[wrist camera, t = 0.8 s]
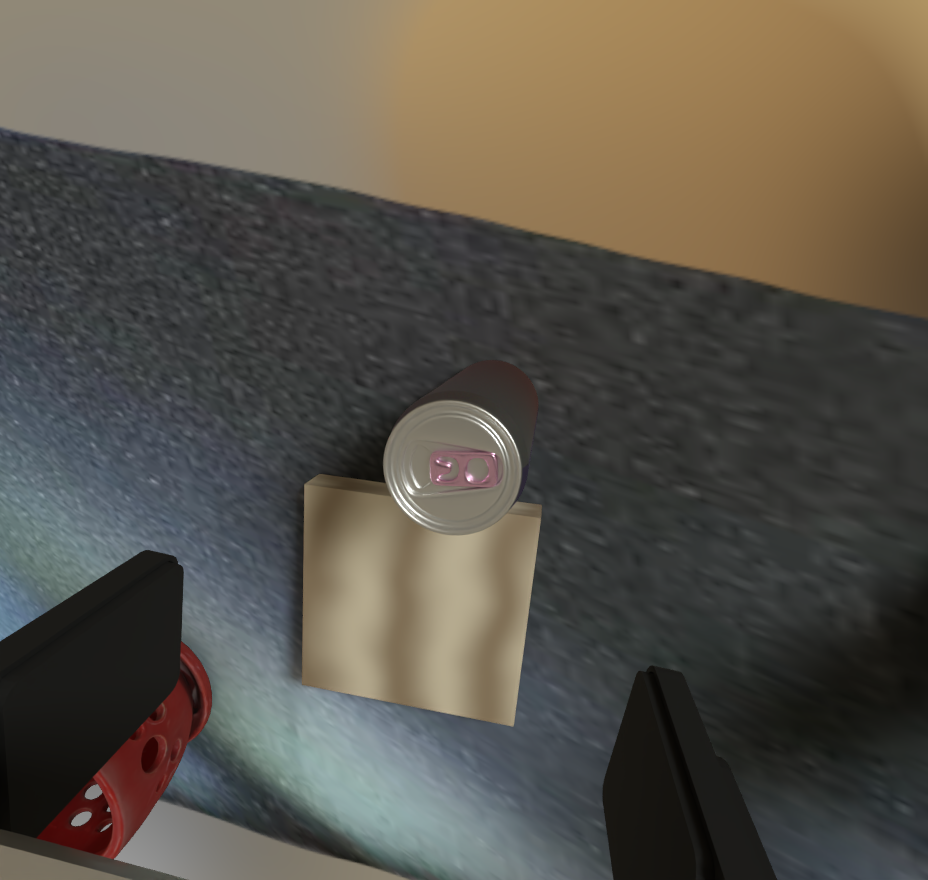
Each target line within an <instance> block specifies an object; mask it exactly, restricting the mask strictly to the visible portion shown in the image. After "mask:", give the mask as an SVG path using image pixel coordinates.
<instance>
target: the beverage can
mask: <svg viewBox="0 0 928 880" xmlns="http://www.w3.org/2000/svg"><path fill="white" fill-rule="evenodd" d="M537 416H538V397H537V393H536V390H535V388H534V386H533V384H532V382H531V381H530V379H529V378H528V377H527V376H526V374H525V373H523V372H522V371H521V370H520V369H519V368H517V367H515V366H514V365H512V364H509V363H507V362H503V361H498V360H486V361H481V362H477V363H474V364H472V365H470V366H469V367H467V368H465V369H464V370H462V371H461V372H459V373H458V374H456V375H455V376H453V377H452V378H451V379H449V380H448V381H446V382H445V383H443V384H442V385H440V386H439V387H437V388H436V389H434V390H433V391H431V392H430V393H428V394H427V395H425V396H424V397H422V398H421V399H419V400H418V401H416V402H415V403H413V404H412V405H411V406H410V407H408V408H407V409H406V410H405V411H404V412H403V413H402V415H401V416H400V417H399V419H398V420H397V422H396V423H395V425H394V427H393V429H392V431H391V434H390V436H389V438H388V441H387V443H386V447H385V451H384V457H383V470H384V477H385V481H386V485H387V488H388V490H389V493H390V495H391V497H392V498H393V500H394V502H395V503H396V505H397V506H398V507H399V508H400V510H401V511H402V512H403V513H404V514H405V515H406V516H407V517H408V518H410V519H411V520H412V521H413V522H415V523H416V524H418V525H420V526H421V527H423V528H425V529H428V530H430V531H433V532H436V533H440V534H445V535H468V534H473V533H476V532H479V531H482V530H484V529H486V528H488V527H490V526H492V525H493V524H495V523H496V522H498V521H499V520H500V519H501V518H502V517H503V516H504V515H505V514H506V513H507V512H508V511H509V510H510V509H511V508H512V507H513V505H514V504H515V503H516V501H517V500H518V498H519V497H520V495H521V493H522V491H523V489H524V486H525V483H526V480H527V475H528V469H529V463H530V457H531V451H532V445H533V439H534V434H535V428H536V422H537Z"/></svg>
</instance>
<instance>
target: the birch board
mask: <svg viewBox="0 0 928 880" xmlns="http://www.w3.org/2000/svg"><path fill="white" fill-rule="evenodd" d="M541 510H542V505H538V504H531V503H524V502H517V501H516V503H515V504H514V505H513V507H512V508H511V509H510V510H509V511H508V512H507V513H506V514H505V515H504V516H503V517H502V518H501V519H500V520H499V521H498V522H496V523H495V524H493V525H492V526H490V527H488V528H486V529H484V530H482V531H479V532H476V533H473V534H468V535H445V534H440V533H436V532H433V531H430V530H428V529H425V528H423V527H421V526H420V525H418V524H416V523H415V522H413V521H412V520H411V519H410V518H408V517H407V516H406V515H405V514H404V513H403V512H402V511H401V510H400V508H399V507H398V506H397V505H396V503H395V502H394V500H393V498H392V497H391V495H390V493H389V490H388V488H387V485H386V483H381V482H374V481H367V480H360V479H353V478H346V477H339V476H331V475H324V474H318V475H317V476H316V477H314V478H313V479H311V480H310V481H308V482H307V483H306V484H304V564H303V645H302V685H307V686H312V687H317V688H322V689H327V690H332V691H337V692H342V693H347V694H352V695H357V696H362V697H367V698H372V699H377V700H382V701H387V702H392V703H397V704H403V705H408V706H413V707H418V708H423V709H428V710H433V711H438V712H443V713H448V714H453V715H458V716H463V717H468V718H473V719H478V720H483V721H488V722H493V723H499V724H504V725H509V726H514V718H515V711H516V703H517V696H518V688H519V681H520V673H521V665H522V658H523V650H524V643H525V635H526V628H527V620H528V612H529V605H530V597H531V590H532V582H533V575H534V567H535V559H536V552H537V544H538V537H539V529H540V522H541Z"/></svg>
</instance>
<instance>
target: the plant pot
mask: <svg viewBox="0 0 928 880" xmlns="http://www.w3.org/2000/svg"><path fill="white" fill-rule="evenodd" d="M211 707H212V691H211V686H210V682H209V678H208V675H207V673H206V671H205V669H204V667H203V665H202V664H201V662H200V660H199V659H198V658H197V656H196V655H195V654H194V653H193V652H192V650H191V649H190V648H189V647H188V646H186V645H185V644H184V643H183V642H182V641H181V654H180V675H179V679H178V682H177V684H176V686H175V688H174V690H173V691H172V692H171V694H170V695H169V696H168V697H167V698H166V699H165V700H164V701H163V702H162V703H161V705H160V706H159V707H158V708H157V709H156V710H155V711H154V712H153V713H152V714H151V715H150V716H149V717H148V719H147V720H146V721H145V722H144V723H143V724H142V725H141V726H140V727H139V728H138V729H137V730H136V731H135V733H134V734H133V735H132V736H131V737H130V738H129V739H128V740H127V741H126V742H125V743H124V744H123V745H122V746H121V748H120V749H119V750H118V751H117V752H116V753H115V754H114V755H113V756H112V757H111V758H110V759H109V760H108V762H107V763H106V764H105V765H104V766H103V767H102V768H101V769H100V770H99V771H98V772H97V773H96V774H95V776H94V777H93V778H92V779H91V780H90V781H89V782H88V783H87V784H86V785H85V786H84V787H83V788H82V790H81V791H80V792H79V793H78V794H77V795H76V796H75V797H74V798H73V799H72V800H71V801H70V802H69V803H68V805H67V806H66V807H65V808H64V809H63V810H62V811H61V812H60V813H59V814H58V815H57V816H56V817H55V819H54V820H53V821H52V822H51V823H50V824H49V825H48V826H47V827H46V828H45V829H44V830H43V831H42V833H41V834H40V835H39V836H38V837H37V838H36V839H40V840H44V841H47V842H51V843H55V844H58V845H62V846H66V847H70V848H73V849H77V850H81V851H84V852H88V853H92V854H95V855H99V856H103V857H107V858H110V859H114V858H115V857H116V856H117V855H118V854H119V853H120V851H121V850H122V849H123V847H124V846H125V845H126V844H127V843H128V842H129V840H130V839H131V838H132V837H133V835H134V834H135V833H136V831H137V830H138V829H139V828H140V826H141V825H142V823H143V822H144V821H145V819H146V818H147V816H148V815H149V813H150V812H151V810H152V809H153V807H154V806H155V804H156V803H157V801H158V800H159V798H160V797H161V795H162V794H163V792H164V791H165V789H166V788H167V786H168V784H169V782H170V781H171V779H172V777H173V775H174V773H175V771H176V769H177V767H178V765H179V763H180V761H181V758H182V756H183V754H184V751H185V748H186V745H187V743H188V742H190V741H191V740H192V739H194V738H195V737H196V736H197V735H198V734H199V733H200V732H201V731H202V729H203V728H204V726H205V725H206V723H207V721H208V718H209V715H210V712H211ZM96 784H98V785H99V786H100V788H101V790H102V792H103V793H102V794H101V795H100V796H99V797H97V798H95V799H92V800H90V799H86V798H85V793H86V791H87V790H88V789H89V788H90V787H91V786H93V785H96ZM108 807H109V808H110V811H111V812H107V808H108ZM85 811H89V812H91V813H92V816H91V818H90V820H89V821H88V822H86V823H85V824H83V825H81V826H76V827H75V826H72V825H71V822H72V820H73V819H74V817H75V816H76V815H78V814H80V813H82V812H85ZM110 823H112V824H111V825H110V826H109V828H107V829H106V830H104V831H102V832H100V831H101V830H102V829H103V828H104V827H105V826H106V825H108V824H110Z"/></svg>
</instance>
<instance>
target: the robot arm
mask: <svg viewBox="0 0 928 880" xmlns="http://www.w3.org/2000/svg"><path fill="white" fill-rule="evenodd" d="M183 575H184V572H183V567H182V566H181V565H179V564H178V561H177V559H176V557H174V556H172V555H168V554H163V553H159V552H155V551H150V550H145V551H142V552H140V553H139V554H137V555H136V556H134V557H133V558H131V559H129V560H128V561H126V562H125V563H123V564H122V565H120V566H118V567H117V568H115V569H114V570H112V571H110V572H109V573H107V574H106V575H104V576H103V577H101V578H99V579H98V580H96V581H95V582H93V583H92V584H90V585H88V586H87V587H85V588H84V589H82V590H81V591H79V592H77V593H76V594H74V595H73V596H71V597H70V598H68V599H66V600H65V601H63V602H62V603H60V604H58V605H57V606H55V607H54V608H52V609H51V610H49V611H47V612H46V613H44V614H43V615H41V616H40V617H38V618H36V619H35V620H33V621H32V622H30V623H29V624H27V625H25V626H24V627H22V628H21V629H19V630H18V631H16V632H14V633H13V634H11V635H10V636H8V637H6V638H5V639H3V640H2V641H0V880H187V879H184V878H180V877H176V876H173V875H169V874H165V873H162V872H158V871H155V870H151V869H147V868H143V867H140V866H136V865H132V864H129V863H125V862H121V861H118V860H114V859H110V858H107V857H103V856H99V855H95V854H92V853H88V852H84V851H81V850H77V849H73V848H70V847H66V846H62V845H58V844H55V843H51V842H47V841H44V840H40V839H36V838H37V837H38V836H39V835H40V834H41V833H42V831H43V830H44V829H45V828H46V827H47V826H48V825H49V824H50V823H51V822H52V821H53V820H54V819H55V817H56V816H57V815H58V814H59V813H60V812H61V811H62V810H63V809H64V808H65V807H66V806H67V805H68V803H69V802H70V801H71V800H72V799H73V798H74V797H75V796H76V795H77V794H78V793H79V792H80V791H81V790H82V788H83V787H84V786H85V785H86V784H87V783H88V782H89V781H90V780H91V779H92V778H93V777H94V776H95V774H96V773H97V772H98V771H99V770H100V769H101V768H102V767H103V766H104V765H105V764H106V763H107V762H108V760H109V759H110V758H111V757H112V756H113V755H114V754H115V753H116V752H117V751H118V750H119V749H120V748H121V746H122V745H123V744H124V743H125V742H126V741H127V740H128V739H129V738H130V737H131V736H132V735H133V734H134V733H135V731H136V730H137V729H138V728H139V727H140V726H141V725H142V724H143V723H144V722H145V721H146V720H147V719H148V717H149V716H150V715H151V714H152V713H153V712H154V711H155V710H156V709H157V708H158V707H159V706H160V705H161V703H162V702H163V701H164V700H165V699H166V698H167V697H168V696H169V695H170V694H171V692H172V691H173V690H174V688H175V686H176V684H177V682H178V679H179V675H180V654H181V628H182V602H183ZM603 806H604V813H605V820H606V828H607V835H608V842H609V849H610V857H611V864H612V871H613V878H614V880H777V878H776V876H775V873H774V871H773V869H772V866H771V864H770V862H769V859H768V857H767V855H766V852H765V850H764V847H763V845H762V843H761V840H760V838H759V836H758V833H757V831H756V828H755V826H754V824H753V821H752V819H751V817H750V814H749V812H748V809H747V807H746V805H745V802H744V800H743V798H742V795H741V793H740V790H739V788H738V786H737V783H736V781H735V779H734V776H733V774H732V771H731V769H730V767H729V766H728V764H727V762H726V761H725V760H724V759H722V758H721V757H717V756H716V755H715V752H714V750H713V747H712V745H711V742H710V740H709V737H708V735H707V732H706V730H705V727H704V725H703V722H702V720H701V717H700V715H699V712H698V710H697V707H696V705H695V702H694V700H693V697H692V695H691V693H690V690H689V688H688V685H687V683H686V680H685V678H684V676H683V674H682V673H681V672H678V671H674V670H670V669H665V668H661V667H657V666H649V668H648V669H647V671H646V672H643V671H638V673H637V675H636V677H635V681H634V684H633V687H632V690H631V694H630V697H629V700H628V703H627V707H626V710H625V713H624V716H623V720H622V723H621V726H620V729H619V733H618V736H617V739H616V742H615V746H614V749H613V752H612V756H611V759H610V762H609V765H608V769H607V772H606V775H605V779H604V784H603Z"/></svg>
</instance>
